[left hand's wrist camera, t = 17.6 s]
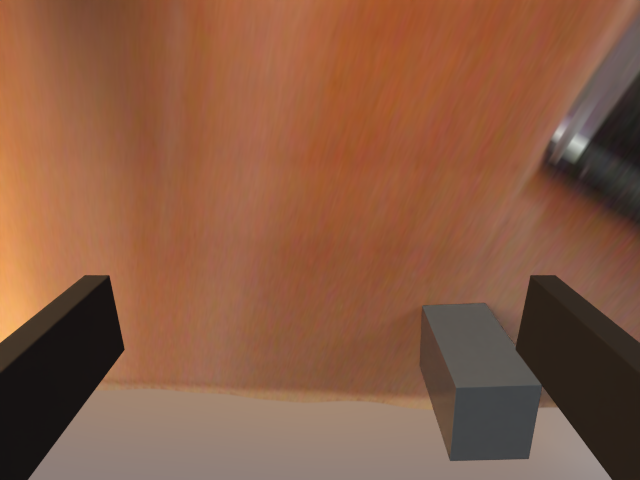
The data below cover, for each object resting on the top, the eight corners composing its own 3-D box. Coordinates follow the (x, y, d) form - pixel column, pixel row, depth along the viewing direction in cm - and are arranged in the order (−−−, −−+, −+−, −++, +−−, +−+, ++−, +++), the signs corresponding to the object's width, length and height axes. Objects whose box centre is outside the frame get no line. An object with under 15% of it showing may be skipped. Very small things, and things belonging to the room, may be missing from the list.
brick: (419, 365, 41) (450, 461, 31) (422, 305, 39) (456, 387, 28) (478, 363, 41) (528, 459, 31) (485, 302, 39) (542, 384, 28)
